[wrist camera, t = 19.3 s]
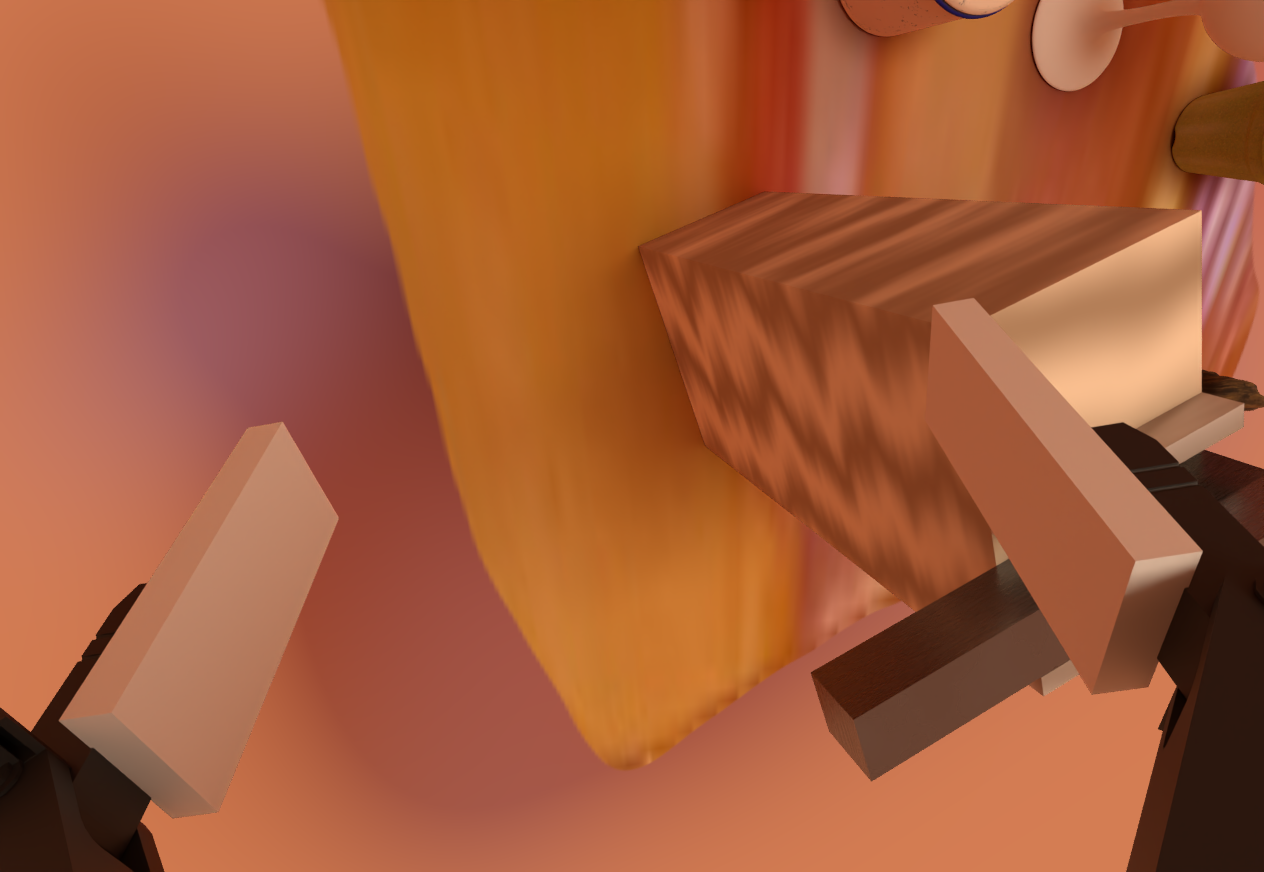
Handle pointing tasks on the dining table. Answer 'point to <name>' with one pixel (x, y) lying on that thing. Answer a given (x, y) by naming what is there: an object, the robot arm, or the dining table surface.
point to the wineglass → (1094, 16)
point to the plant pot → (1223, 134)
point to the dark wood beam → (972, 648)
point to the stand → (922, 353)
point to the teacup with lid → (915, 13)
